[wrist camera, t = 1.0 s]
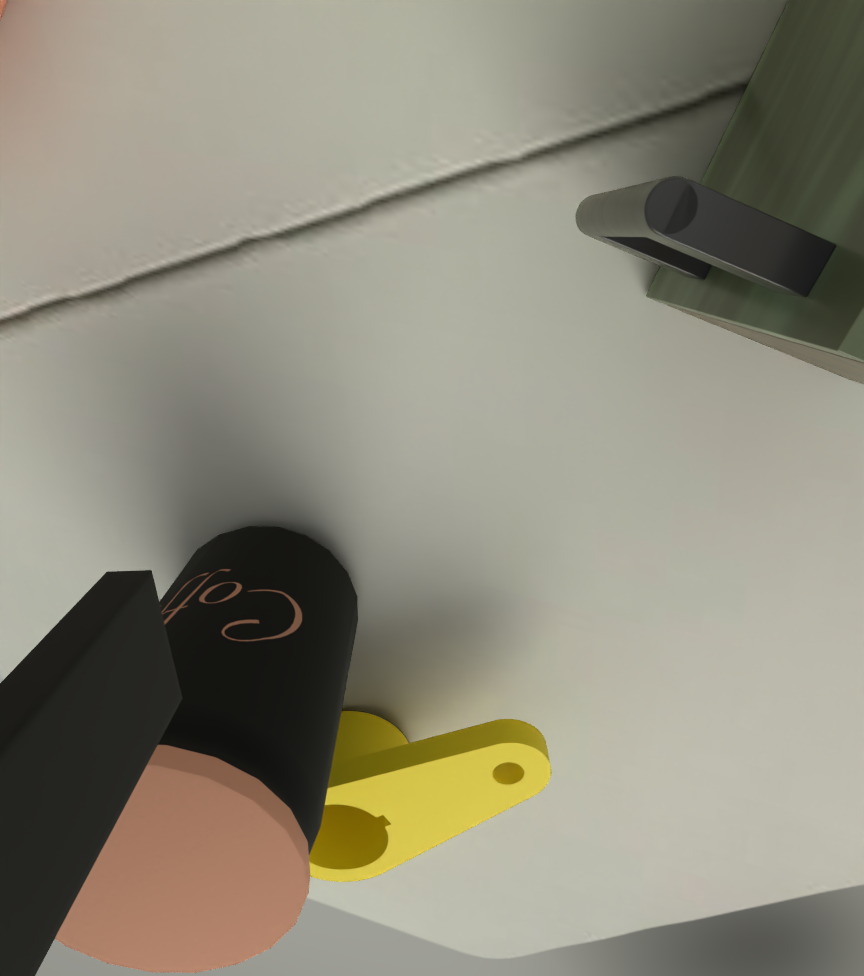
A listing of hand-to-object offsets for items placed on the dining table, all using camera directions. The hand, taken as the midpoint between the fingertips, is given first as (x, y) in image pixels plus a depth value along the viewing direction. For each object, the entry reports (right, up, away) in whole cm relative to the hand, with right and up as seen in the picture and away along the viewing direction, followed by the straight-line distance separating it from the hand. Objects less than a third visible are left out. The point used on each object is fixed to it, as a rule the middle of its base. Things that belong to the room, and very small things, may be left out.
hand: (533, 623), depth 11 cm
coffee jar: (-11, -4, +27) cm, 30 cm away
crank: (-3, -17, +25) cm, 30 cm away
